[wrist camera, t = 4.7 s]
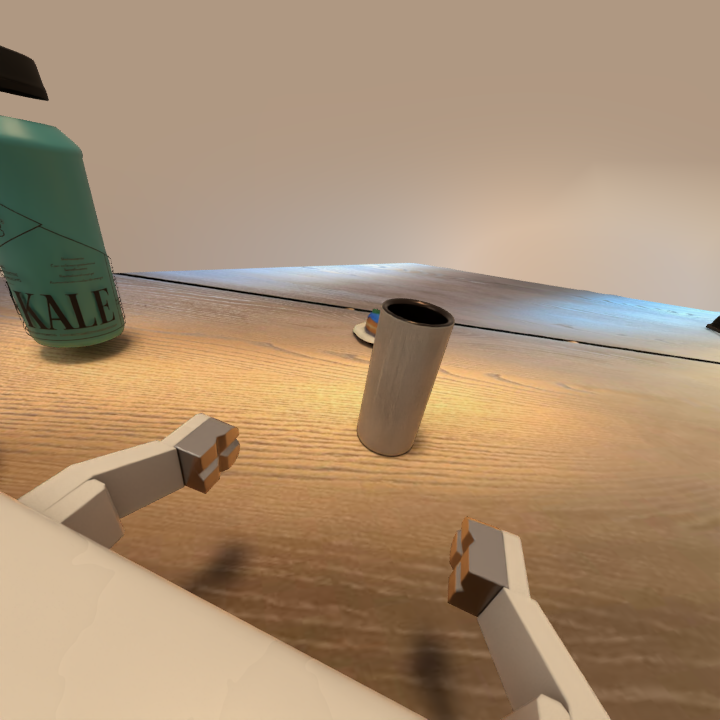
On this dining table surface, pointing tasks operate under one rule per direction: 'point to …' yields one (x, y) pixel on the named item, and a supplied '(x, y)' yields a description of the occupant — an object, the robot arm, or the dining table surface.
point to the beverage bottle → (51, 227)
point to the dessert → (368, 327)
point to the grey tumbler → (402, 373)
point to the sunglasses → (715, 325)
